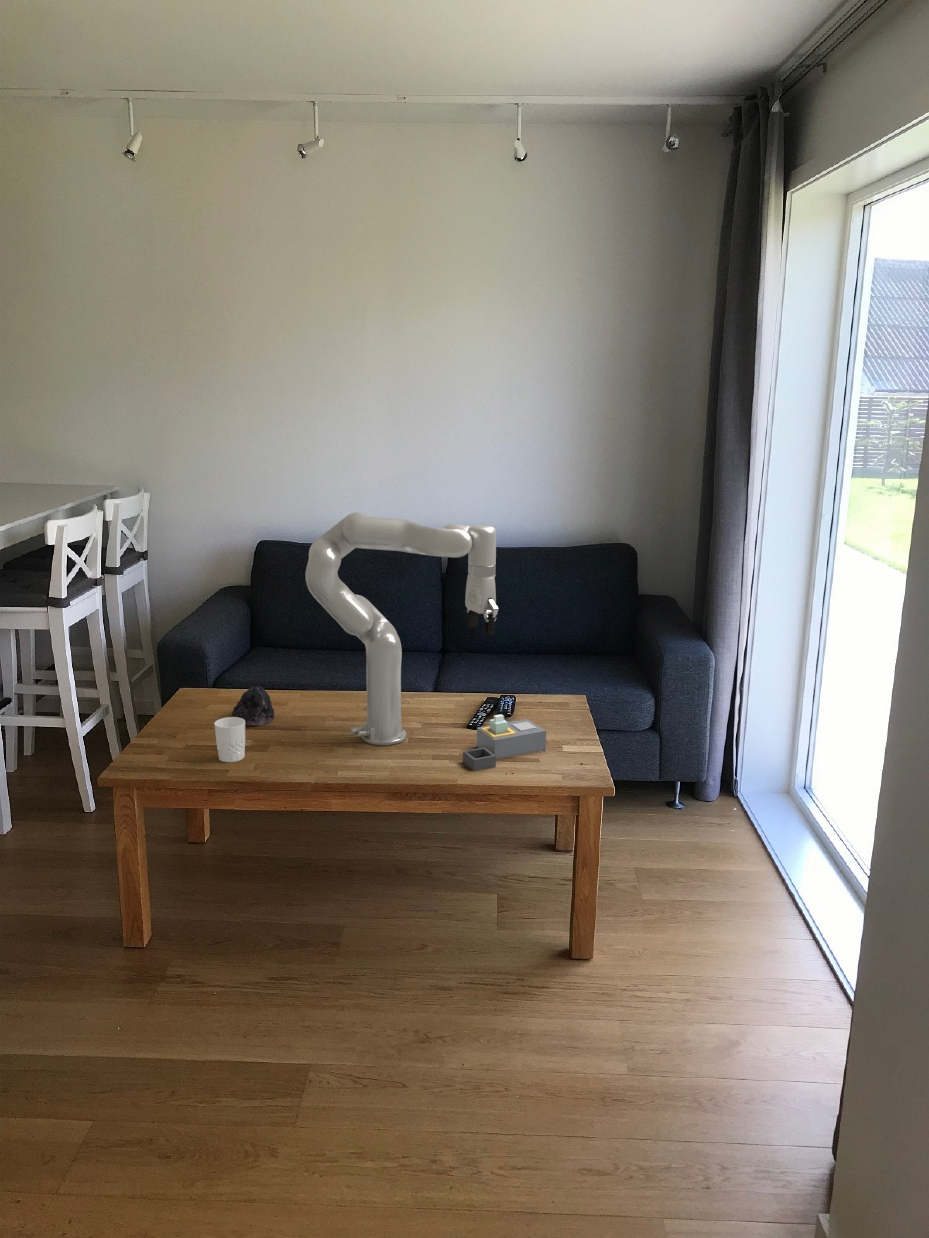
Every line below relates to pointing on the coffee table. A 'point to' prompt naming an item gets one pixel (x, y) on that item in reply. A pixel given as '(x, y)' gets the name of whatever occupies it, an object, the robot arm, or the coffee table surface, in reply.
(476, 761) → the holster
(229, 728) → the white cup
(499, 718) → the plug
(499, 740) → the port panel
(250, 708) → the crystal cluster
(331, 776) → the coffee table surface
